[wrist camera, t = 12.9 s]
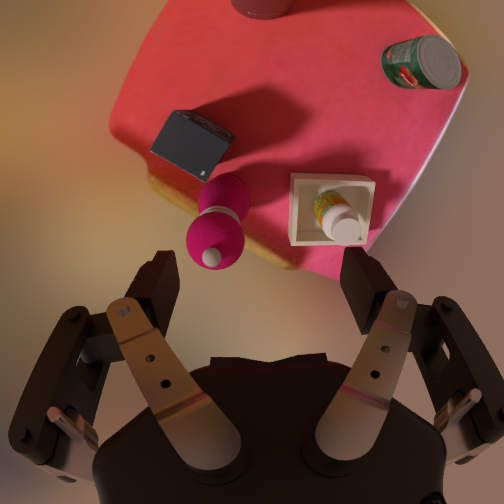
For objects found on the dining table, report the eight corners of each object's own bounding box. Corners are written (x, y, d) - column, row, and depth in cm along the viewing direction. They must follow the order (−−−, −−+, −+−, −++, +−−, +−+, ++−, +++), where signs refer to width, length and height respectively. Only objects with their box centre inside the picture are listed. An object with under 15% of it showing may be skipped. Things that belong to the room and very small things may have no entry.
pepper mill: (199, 174, 40) (162, 230, 23) (246, 168, 40) (246, 220, 23) (206, 217, 44) (181, 296, 26) (251, 212, 44) (254, 291, 26)
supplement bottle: (317, 185, 41) (336, 208, 32) (348, 194, 41) (372, 218, 33) (307, 216, 43) (321, 246, 35) (337, 224, 44) (357, 254, 36)
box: (235, 135, 37) (231, 143, 28) (214, 166, 40) (204, 185, 31) (190, 108, 35) (171, 108, 26) (171, 140, 37) (147, 151, 28)
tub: (290, 172, 40) (294, 179, 37) (365, 175, 40) (375, 182, 37) (288, 234, 46) (291, 245, 42) (357, 233, 46) (365, 244, 42)
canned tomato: (386, 90, 33) (425, 89, 24) (374, 44, 29) (410, 31, 20) (424, 88, 32) (466, 90, 23) (413, 45, 28) (453, 37, 19)
